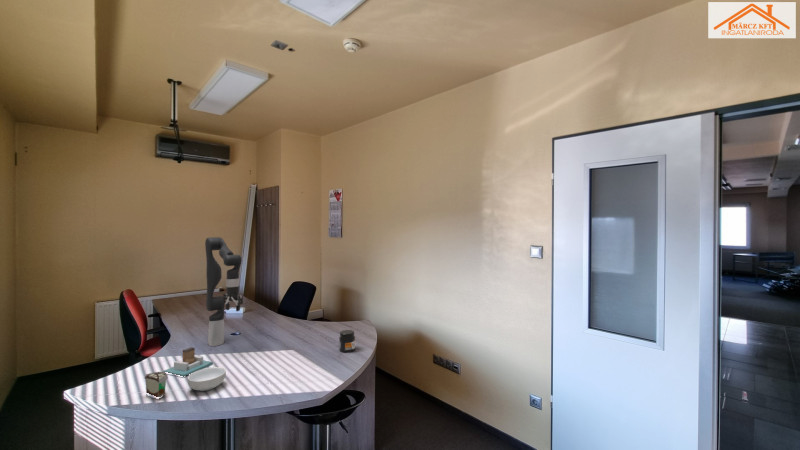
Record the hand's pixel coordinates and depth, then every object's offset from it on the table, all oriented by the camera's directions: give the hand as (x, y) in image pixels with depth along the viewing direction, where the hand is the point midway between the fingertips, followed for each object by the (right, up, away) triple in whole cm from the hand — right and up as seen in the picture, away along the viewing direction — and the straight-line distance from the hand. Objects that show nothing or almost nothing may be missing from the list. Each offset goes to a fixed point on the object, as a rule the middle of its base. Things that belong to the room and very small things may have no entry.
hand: (232, 310), depth 209 cm
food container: (-9, -28, -52) cm, 59 cm away
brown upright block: (-14, -26, -23) cm, 37 cm away
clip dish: (-14, -28, -23) cm, 38 cm away
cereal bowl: (+10, -28, -45) cm, 54 cm away
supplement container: (+74, -28, +4) cm, 79 cm away
